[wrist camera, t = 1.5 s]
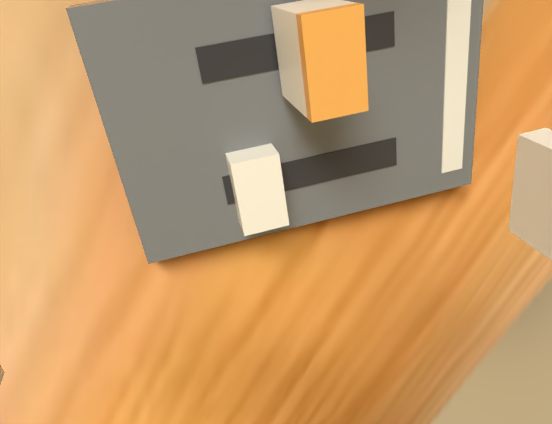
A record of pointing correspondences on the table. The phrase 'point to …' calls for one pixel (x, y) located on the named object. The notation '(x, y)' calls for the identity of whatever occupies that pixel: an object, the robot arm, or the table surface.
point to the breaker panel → (273, 116)
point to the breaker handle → (322, 57)
